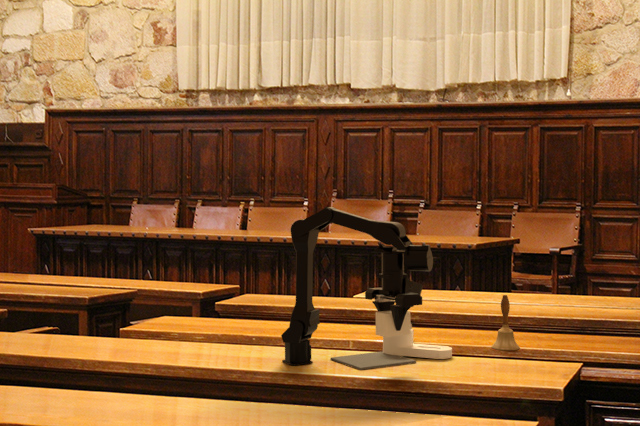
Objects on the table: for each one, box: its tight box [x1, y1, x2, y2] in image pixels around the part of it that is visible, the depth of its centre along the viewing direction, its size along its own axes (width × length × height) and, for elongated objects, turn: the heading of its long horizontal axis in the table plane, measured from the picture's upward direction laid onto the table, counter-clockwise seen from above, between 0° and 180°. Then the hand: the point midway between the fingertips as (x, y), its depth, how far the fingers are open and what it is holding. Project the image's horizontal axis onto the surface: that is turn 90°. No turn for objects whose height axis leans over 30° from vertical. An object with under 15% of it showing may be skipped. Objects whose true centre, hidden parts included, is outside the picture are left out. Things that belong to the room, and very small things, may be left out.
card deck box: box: [375, 310, 412, 338], centre depth 214 cm, size 8×4×6 cm, turn 119°
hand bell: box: [491, 294, 521, 351], centre depth 245 cm, size 8×8×16 cm
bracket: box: [382, 328, 453, 360], centre depth 234 cm, size 20×9×7 cm, turn 71°
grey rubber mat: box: [330, 350, 417, 371], centre depth 226 cm, size 18×16×1 cm
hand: (393, 329), depth 214 cm, fingers closed on card deck box, 4 cm apart
